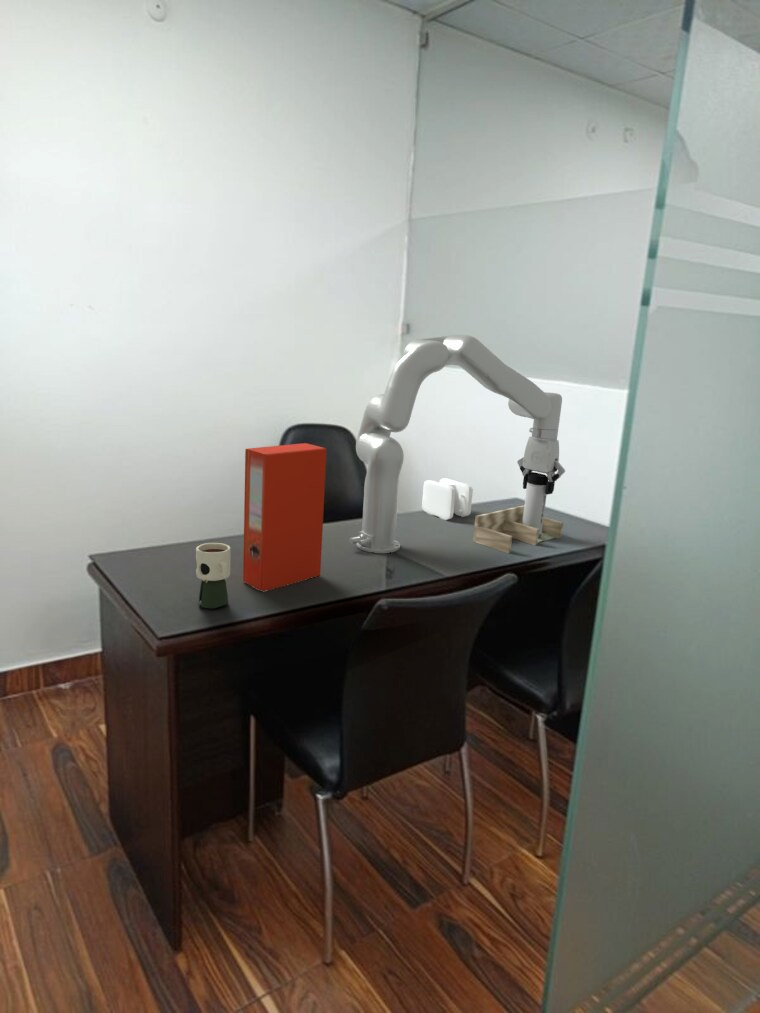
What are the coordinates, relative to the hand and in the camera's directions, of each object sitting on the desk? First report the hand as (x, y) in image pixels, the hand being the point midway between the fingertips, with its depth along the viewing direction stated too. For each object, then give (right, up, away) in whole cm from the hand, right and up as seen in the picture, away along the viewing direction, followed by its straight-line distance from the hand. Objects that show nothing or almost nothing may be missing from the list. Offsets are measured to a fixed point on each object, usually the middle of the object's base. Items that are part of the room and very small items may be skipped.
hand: (537, 490), depth 206 cm
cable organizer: (-26, -8, +23) cm, 36 cm away
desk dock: (-6, -15, -1) cm, 16 cm away
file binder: (-72, -23, -45) cm, 88 cm away
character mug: (-84, -26, -62) cm, 108 cm away
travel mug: (-1, -14, +4) cm, 15 cm away
